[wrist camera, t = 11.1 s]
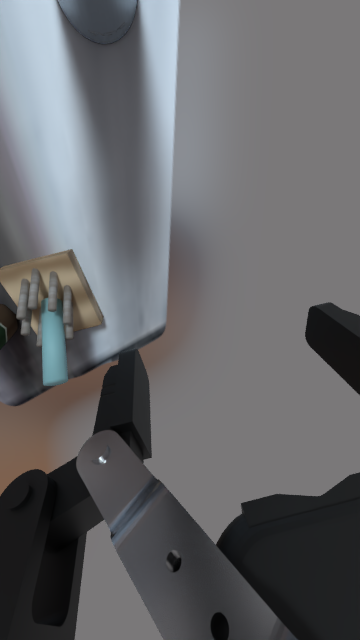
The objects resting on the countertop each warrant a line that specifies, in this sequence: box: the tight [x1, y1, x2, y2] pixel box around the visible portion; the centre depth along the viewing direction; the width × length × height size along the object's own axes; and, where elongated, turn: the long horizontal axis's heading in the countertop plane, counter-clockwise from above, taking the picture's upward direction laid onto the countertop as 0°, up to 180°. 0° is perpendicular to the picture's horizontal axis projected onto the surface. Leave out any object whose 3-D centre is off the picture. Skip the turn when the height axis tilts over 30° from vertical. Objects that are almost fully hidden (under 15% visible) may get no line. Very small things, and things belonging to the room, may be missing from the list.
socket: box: [0, 249, 104, 347], centre depth 38 cm, size 14×12×9 cm
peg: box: [41, 298, 68, 386], centre depth 35 cm, size 3×3×14 cm
